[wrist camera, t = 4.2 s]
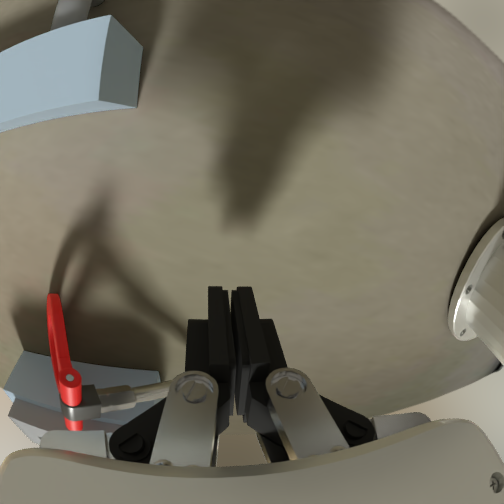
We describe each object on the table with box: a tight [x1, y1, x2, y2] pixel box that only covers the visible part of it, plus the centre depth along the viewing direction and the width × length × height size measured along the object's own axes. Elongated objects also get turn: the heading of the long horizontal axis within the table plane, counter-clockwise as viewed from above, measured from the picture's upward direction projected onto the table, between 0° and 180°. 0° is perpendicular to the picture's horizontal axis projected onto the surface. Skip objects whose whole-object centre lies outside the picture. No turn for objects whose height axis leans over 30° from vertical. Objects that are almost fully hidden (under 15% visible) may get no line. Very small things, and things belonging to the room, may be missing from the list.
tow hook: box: [47, 293, 172, 431], centre depth 15 cm, size 7×10×7 cm
